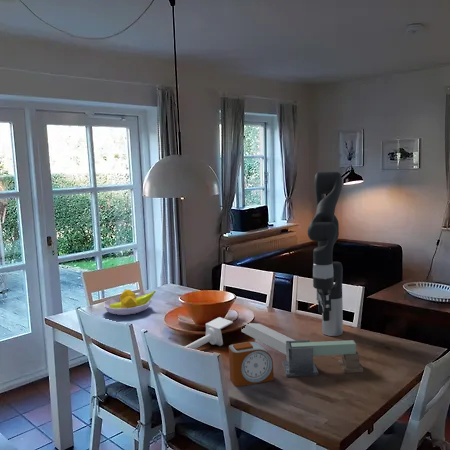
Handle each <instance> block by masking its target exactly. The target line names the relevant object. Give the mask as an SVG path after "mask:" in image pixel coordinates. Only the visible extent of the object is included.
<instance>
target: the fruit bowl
mask: <svg viewBox="0 0 450 450" xmlns="http://www.w3.org/2000/svg"><path fill="white" fill-rule="evenodd" d="M155 293H156V290H153V291H152V292H150V293H146V294H136V293H135V292H133V291H132V290H131V289H125V290H123V292H121V294H120V295H119V296H115V297H111V298H109V299H107V300H105V301H104V302H103V307H104V308H105V310H106V312H109V313H110V314H114V315H116V314H117V316H130V314H134V315H137V314H139V313H140V312H143V311H145V310H147V309H148V308H149V307H150V305H151V304H152V302H153V299H152V297H154V294H155ZM136 313H137V314H136Z"/></svg>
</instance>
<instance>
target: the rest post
mask: <svg viewBox="0 0 450 450" xmlns="http://www.w3.org/2000/svg"><path fill="white" fill-rule="evenodd" d="M338 364H339V366H340V368H341V369H342V371H343V373H344V374H349V373H364V368H363V366H362V365H361V363H360V354H359V353H358V352H357V350H356V354H345V355H341V359H338Z"/></svg>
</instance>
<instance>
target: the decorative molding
mask: <svg viewBox="0 0 450 450" xmlns="http://www.w3.org/2000/svg"><path fill="white" fill-rule="evenodd" d="M247 323H249V324H247ZM243 324H244V325H246V326H245V328H243V329H242V328H241V333H244V334H245V335H247V336H249V337H251V338H252V339H254V340H257V341H258V342H260V343H262V344H264V345H266V346H267V347H270V348H271V349H273V350H276V351H278V352H280V353H281V354H282V355H285V356H286V341H296V340H295V339H293V338H291V337H289V336H288V335H287V336H286V335H284V334H283V333H280V332H278V331H276V330H274V329H272V328H270V327H267V326H265V325H264V324H262V323H253V322H242V325H243Z"/></svg>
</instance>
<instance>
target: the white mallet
mask: <svg viewBox="0 0 450 450" xmlns="http://www.w3.org/2000/svg"><path fill="white" fill-rule="evenodd" d="M233 323H234V322H233V321H232V320H229V319H226V318H224V317H221V316H219V317H217V318H214V319H212V320H211V321H208V322H206V323H205V336H203V337H201V338H198V339H197V340H195V341H193V342H191V343H189V344H187V345H185V346H184V347H189V348H193V349H194V350H196V349H197V348H200V347H201V346H203V345H205V344H207V343H210V344H211V345H212V346H213V345H217V346H219V347H221V346H223V345H224V342H223V341H224V340H223V335H222V329H224V328H226V327H228V326H229V325H232V324H233Z"/></svg>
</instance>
